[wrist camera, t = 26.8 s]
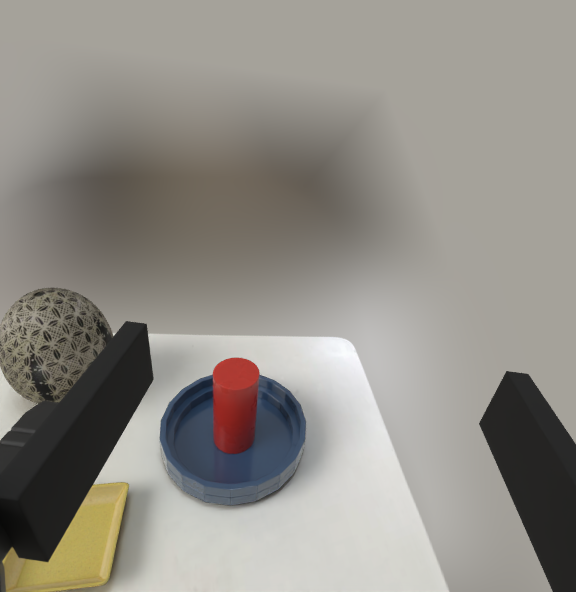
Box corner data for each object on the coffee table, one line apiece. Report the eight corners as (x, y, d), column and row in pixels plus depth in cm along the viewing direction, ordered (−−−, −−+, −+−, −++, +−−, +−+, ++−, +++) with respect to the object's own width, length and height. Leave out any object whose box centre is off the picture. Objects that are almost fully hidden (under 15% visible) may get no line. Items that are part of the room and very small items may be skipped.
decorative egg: (110, 425, 44) (88, 322, 37) (-1, 433, 42) (-50, 325, 34) (129, 360, 54) (114, 268, 46) (39, 363, 52) (8, 267, 44)
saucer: (111, 595, 30) (107, 584, 29) (-8, 611, 29) (-17, 599, 28) (132, 493, 38) (130, 481, 37) (38, 501, 36) (32, 489, 35)
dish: (304, 399, 51) (308, 380, 49) (298, 519, 37) (302, 499, 35) (188, 383, 51) (187, 364, 50) (138, 497, 37) (134, 476, 36)
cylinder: (257, 422, 46) (262, 360, 41) (251, 456, 42) (255, 392, 37) (219, 417, 46) (219, 354, 41) (208, 451, 42) (207, 386, 37)
